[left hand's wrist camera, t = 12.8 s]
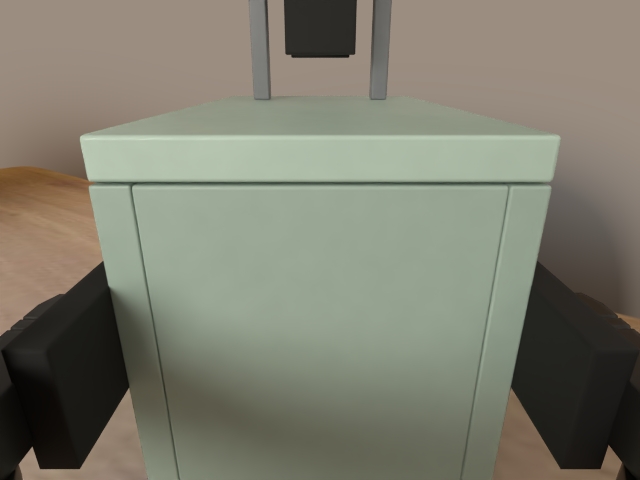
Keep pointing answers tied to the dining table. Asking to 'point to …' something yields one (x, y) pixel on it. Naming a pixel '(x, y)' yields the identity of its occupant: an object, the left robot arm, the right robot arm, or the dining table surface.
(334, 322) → the chest
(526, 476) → the dining table surface
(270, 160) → the lid
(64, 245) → the dining table surface
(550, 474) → the dining table surface
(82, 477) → the dining table surface
